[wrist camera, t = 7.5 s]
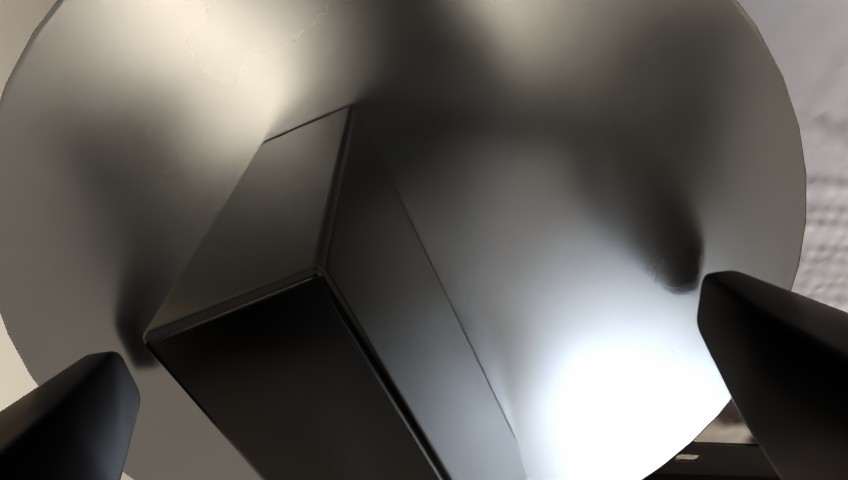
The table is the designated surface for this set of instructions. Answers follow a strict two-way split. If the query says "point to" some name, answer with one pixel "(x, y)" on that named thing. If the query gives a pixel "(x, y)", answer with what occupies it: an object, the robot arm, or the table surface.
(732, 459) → the wireless controller
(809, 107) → the table surface
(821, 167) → the table surface
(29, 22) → the table surface
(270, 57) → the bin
